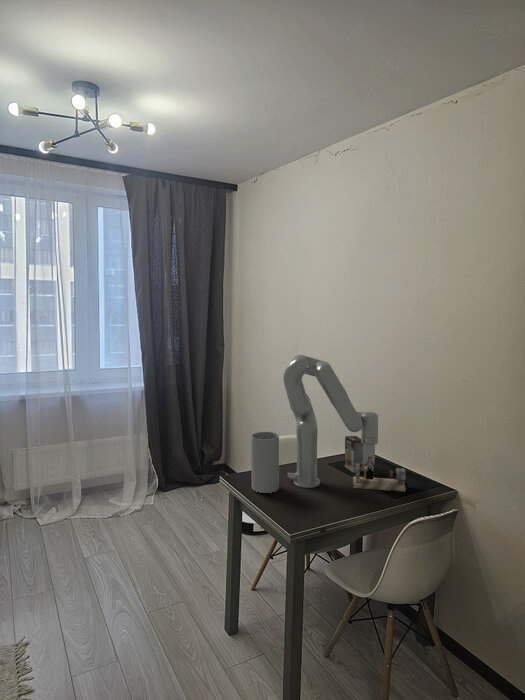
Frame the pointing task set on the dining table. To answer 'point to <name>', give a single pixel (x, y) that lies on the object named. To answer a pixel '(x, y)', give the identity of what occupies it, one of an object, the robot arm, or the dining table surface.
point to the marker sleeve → (365, 471)
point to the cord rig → (380, 480)
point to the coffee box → (353, 453)
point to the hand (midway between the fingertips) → (369, 475)
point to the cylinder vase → (265, 462)
